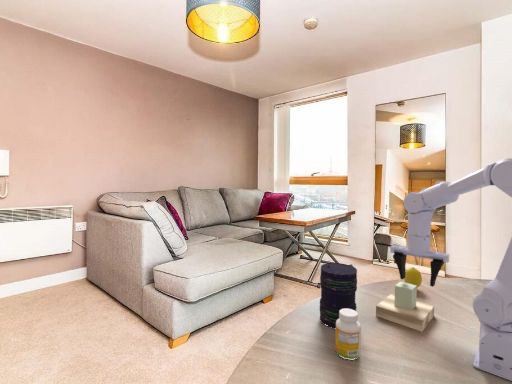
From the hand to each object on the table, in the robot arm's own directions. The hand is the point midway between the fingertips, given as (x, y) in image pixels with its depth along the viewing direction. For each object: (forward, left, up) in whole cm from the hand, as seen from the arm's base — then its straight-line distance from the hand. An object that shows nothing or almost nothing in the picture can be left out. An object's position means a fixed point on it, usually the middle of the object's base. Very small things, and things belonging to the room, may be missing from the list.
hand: (417, 281), depth 81 cm
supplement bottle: (-30, +6, -11) cm, 33 cm away
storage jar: (-18, +15, -11) cm, 26 cm away
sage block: (-2, +2, -7) cm, 8 cm away
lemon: (+22, +7, -11) cm, 25 cm away
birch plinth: (-2, +2, -10) cm, 11 cm away
